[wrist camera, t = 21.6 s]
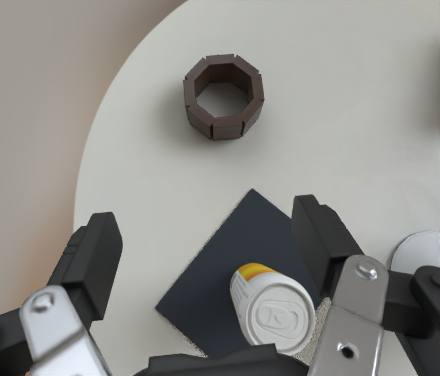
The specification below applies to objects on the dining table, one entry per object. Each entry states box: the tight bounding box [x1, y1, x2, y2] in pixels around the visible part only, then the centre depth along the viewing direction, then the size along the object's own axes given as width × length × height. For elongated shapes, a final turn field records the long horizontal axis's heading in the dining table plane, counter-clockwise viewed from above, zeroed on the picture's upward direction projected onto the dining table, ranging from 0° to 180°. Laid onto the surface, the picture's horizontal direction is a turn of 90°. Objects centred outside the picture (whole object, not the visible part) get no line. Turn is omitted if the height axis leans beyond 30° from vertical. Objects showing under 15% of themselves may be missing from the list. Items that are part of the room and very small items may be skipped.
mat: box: [155, 188, 325, 359], centre depth 36 cm, size 20×16×1 cm
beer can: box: [230, 263, 315, 356], centre depth 28 cm, size 6×6×15 cm
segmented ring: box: [183, 54, 265, 140], centre depth 38 cm, size 10×10×4 cm
